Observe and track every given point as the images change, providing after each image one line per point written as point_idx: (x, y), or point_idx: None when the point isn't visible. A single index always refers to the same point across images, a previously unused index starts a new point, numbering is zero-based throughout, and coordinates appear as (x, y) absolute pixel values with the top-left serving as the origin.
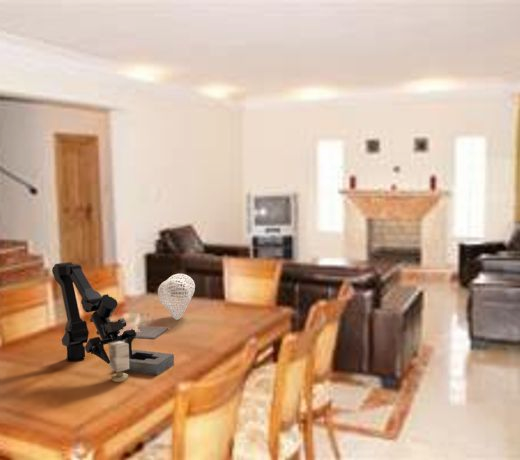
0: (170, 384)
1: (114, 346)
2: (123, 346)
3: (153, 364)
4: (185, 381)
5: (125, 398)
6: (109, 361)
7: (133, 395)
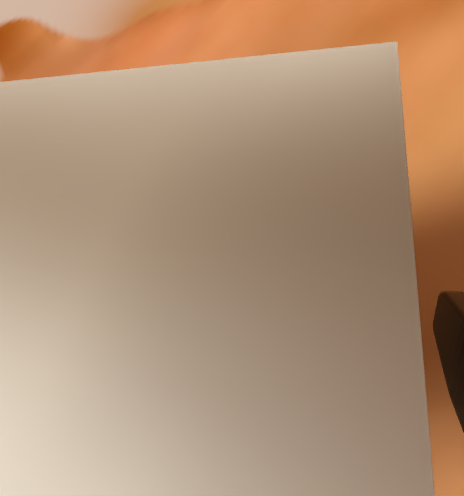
0: (125, 44)
1: (401, 174)
2: (147, 93)
3: None
4: (51, 36)
5: (448, 10)
6: (453, 295)
7: (380, 23)
